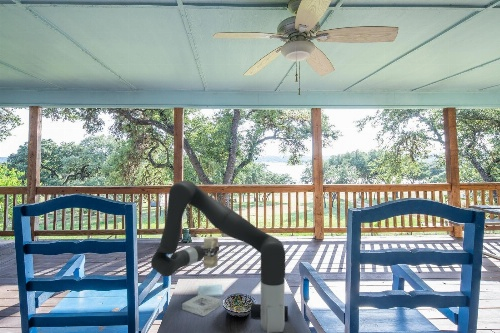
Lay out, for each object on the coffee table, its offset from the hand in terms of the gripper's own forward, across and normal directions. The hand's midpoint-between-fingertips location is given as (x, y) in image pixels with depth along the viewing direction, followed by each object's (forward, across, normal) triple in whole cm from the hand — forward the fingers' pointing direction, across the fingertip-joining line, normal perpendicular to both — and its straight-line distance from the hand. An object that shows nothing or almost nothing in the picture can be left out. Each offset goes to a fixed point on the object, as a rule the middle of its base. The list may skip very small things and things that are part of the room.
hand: (214, 247), depth 147 cm
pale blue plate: (-2, 0, +21) cm, 21 cm away
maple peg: (-3, 0, +8) cm, 9 cm away
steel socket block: (-18, -8, +21) cm, 29 cm away
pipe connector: (-7, -36, +22) cm, 42 cm away
